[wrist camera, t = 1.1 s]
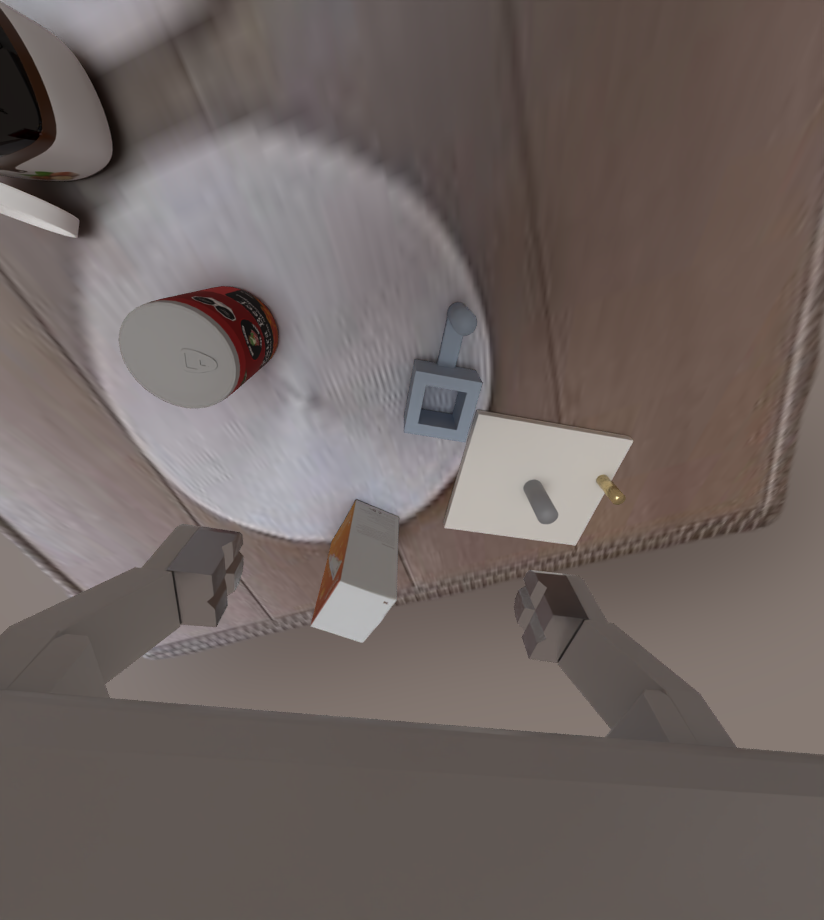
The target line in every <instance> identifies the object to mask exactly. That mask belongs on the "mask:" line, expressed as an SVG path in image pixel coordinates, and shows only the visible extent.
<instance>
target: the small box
mask: <svg viewBox="0 0 824 920" xmlns="http://www.w3.org/2000/svg"><path fill="white" fill-rule="evenodd" d="M398 533H399V517H397V516H394V515H392V514H390V513H387V512H385V511H383V510H380V509H378V508H375V507H373V506H371V505H368V504H365V503H363V502H361V501H358V500H355V502H354V504H353V506H352V508H351V510H350V511H349V513H348V515H347V517H346V518H345V520H344V522H343V524H342V525H341V527H340V529H339V530H338V532H337V534H336V535H335V537H334V538H333V540H332V543H331V547H330V551H329V555H328V559H327V563H326V567H325V571H324V575H323V579H322V583H321V587H320V591H319V595H318V599H317V603H316V607H315V610H314V614H313V618H312V622H311V625H310V626H311V627H314V628H317V629H321V630H324V631H327V632H330V633H333V634H336V635H340V636H342V637H346V638H349V639H352V640H355V641H358V642H361V643H362V642H364V641H365V640H366V638H367V637H368V636H369V635H370V634H371V633H372V631H373V630H374V629H375V628H376V627H377V626H378V624H379V623H380V622H381V621H382V619H383V618H384V617H385V615H386V614H387V612H388V611H389V610H390V608H391V607H392V606H393V604H394V603H395V602H396V600H397V572H398Z"/></svg>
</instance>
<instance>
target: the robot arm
mask: <svg viewBox="0 0 824 920" xmlns="http://www.w3.org/2000/svg"><path fill="white" fill-rule="evenodd" d="M242 545H243V537H242V534H241V533H240V532H235V531H228V530H222V529H215V528H209V527H199V526H193V525H187V524H181V525H179V526H177V527H176V528H175V529H174V531H173V532H172V533H171V534H170V535H169V536H168V538H167V539H166V540H165V541H164V542H163V543H162V545H161V546H160V547H159V548H158V549H157V550H156V552H155V553H154V554H153V555H152V556H151V557H150V559H149V560H148V561H147V562H146V563H145V564H144V566H143V567H142V568H136V567H135V568H133V569H131V570H128V571H126V572H124V573H122V574H120V575H118V576H116V577H114V578H111V579H109V580H107V581H105V582H103V583H101V584H99V585H97V586H94V587H92V588H90V589H88V590H86V591H84V592H82V593H80V594H77V595H75V596H73V597H71V598H69V599H67V600H65V601H63V602H61V603H58V604H56V605H54V606H52V607H50V608H48V609H46V610H43V611H42V612H39V613H37V614H35V615H33V616H31V617H29V618H26V619H24V620H22V621H20V622H18V623H16V624H14V625H12V626H10V627H9V628H8V629H6V630H5V631H4V632H3V633H2V634H1V635H0V920H824V755H823V754H810V753H796V752H784V751H771V750H759V749H746V748H737V747H736V746H735V744H734V743H733V741H732V740H731V738H730V737H729V735H728V734H727V732H726V731H725V729H724V728H723V727H722V725H721V724H720V722H719V721H718V719H717V718H716V716H715V715H714V713H713V712H712V710H711V709H710V707H709V706H708V705H707V703H706V702H705V700H704V699H703V697H702V696H701V694H700V693H699V692H697V691H696V690H695V689H694V688H693V687H691V686H690V685H689V684H688V683H686V682H685V681H684V680H683V679H681V678H680V677H679V676H678V675H676V674H675V673H674V672H673V671H672V670H670V669H669V668H668V667H667V666H665V665H664V664H663V663H662V662H660V661H659V660H658V659H657V658H656V657H654V656H653V655H652V654H651V653H649V652H648V651H647V650H646V649H644V648H643V647H642V646H641V645H640V644H638V643H637V642H636V641H635V640H633V639H632V638H631V637H630V636H629V635H627V634H626V633H625V632H624V631H622V630H621V629H620V628H619V627H617V626H616V625H615V624H614V623H609V622H608V621H607V619H606V618H605V616H604V614H603V613H602V611H601V609H600V607H599V606H598V604H597V602H596V601H595V599H594V597H593V595H592V593H591V592H590V590H589V588H588V586H587V585H586V583H585V581H584V580H583V578H581V577H580V576H579V575H570V574H559V573H551V572H543V571H535V570H530V571H528V572H527V573H526V575H525V577H524V582H525V585H526V586H524V587H523V588H521V589H519V590H518V593H517V595H516V598H515V605H514V610H515V617H516V620H517V623H518V624H519V625H520V626H521V627H522V628H523V629H524V630H525V632H524V634H523V636H522V639H523V642H524V645H525V648H526V651H527V654H528V658H529V659H533V660H540V661H547V662H555V663H558V665H559V667H560V668H561V669H562V670H563V671H564V673H565V674H566V675H567V676H568V678H569V679H570V680H571V681H572V682H573V684H574V685H575V686H576V687H577V689H578V690H579V691H580V692H581V693H582V695H583V696H584V697H585V698H586V699H587V700H588V702H589V703H590V704H591V706H592V707H593V708H594V709H595V710H596V712H597V713H598V714H599V715H600V716H601V717H602V719H603V720H604V721H605V723H606V724H607V725H608V726H609V727H610V728H611V731H610V732H609V733H608V734H607V736H606V737H594V736H582V735H569V734H557V733H543V732H531V731H518V730H505V729H493V728H480V727H467V726H455V725H441V724H429V723H415V722H404V721H391V720H378V719H366V718H351V717H340V716H328V715H315V714H302V713H290V712H277V711H263V710H252V709H238V708H226V707H214V706H201V705H189V704H176V703H163V702H151V701H138V700H125V699H112V698H110V697H109V694H108V691H107V688H106V686H105V684H106V683H107V682H109V681H110V680H111V679H113V678H114V677H115V676H116V675H118V674H119V673H120V672H122V671H123V670H124V669H126V668H127V667H128V666H129V665H131V664H132V663H133V662H135V661H136V660H137V659H139V658H140V657H141V656H143V655H144V654H145V653H146V652H148V651H149V650H150V649H152V648H153V647H154V646H156V645H157V644H158V643H160V642H161V641H162V640H163V639H165V638H166V637H167V636H169V635H170V634H171V633H173V632H174V631H175V630H176V629H178V628H179V627H180V625H194V626H207V627H217V625H218V623H219V621H220V619H221V617H222V615H223V613H224V611H225V609H226V607H227V606H228V602H227V596H228V595H230V594H231V593H233V592H234V591H235V590H236V588H237V586H238V584H239V581H240V578H241V574H242V571H243V563H244V561H243V555H242V554H241V553H240V552H239V550H240V548H241V546H242Z"/></svg>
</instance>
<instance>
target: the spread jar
mask: <svg viewBox="0 0 824 920" xmlns="http://www.w3.org/2000/svg"><path fill="white" fill-rule="evenodd" d="M112 156H113V140H112V135H111V130H110V126H109V122H108V119H107V116H106V113H105V110H104V108H103V105H102V103H101V101H100V98H99V96H98V94H97V92H96V90H95V88H94V86H93V84H92V82H91V81H90V79H89V77H88V75H87V74H86V72H85V70H84V68H83V67H82V65H81V64H80V62H79V60H78V59H77V58H76V56H75V55H74V54H73V52H72V51H71V50H70V49H69V48H68V47H67V46H66V45H65V44H64V43H63V42H62V41H61V40H60V39H59V38H58V37H56V36H55V35H54V34H53V33H51V32H50V31H48V30H47V29H46V28H44V27H42V26H41V25H39V24H38V23H36V22H35V21H33V20H31V19H30V18H28V17H26V16H25V15H23V14H21V13H20V12H18V11H16V10H15V9H13V8H11V7H10V6H8V5H6V4H4V3H3V2H1V1H0V175H1V176H7V177H13V178H21V179H30V180H45V181H71V180H80V179H85V178H88V177H91V176H93V175H95V174H97V173H99V172H101V171H102V170H103V169H105V168H106V167H107V166H108V164H109V163H110V161H111V159H112ZM0 213H2V214H4V215H7V216H10V217H12V218H15V219H17V220H20V221H23V222H26V223H28V224H31V225H34V226H37V227H40V228H43V229H46V230H49V231H52V232H55V233H58V234H62V235H65V236H69V237H74V238H78V230H79V219H78V218H76V217H75V216H73V215H72V214H70V213H68V212H66V211H65V210H63V209H61V208H59V207H57V206H55V205H52V204H50V203H48V202H46V201H44V200H42V199H39V198H37V197H35V196H33V195H30V194H28V193H25V192H23V191H21V190H18V189H16V188H13V187H11V186H8V185H6V184H3V183H1V182H0Z"/></svg>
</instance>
